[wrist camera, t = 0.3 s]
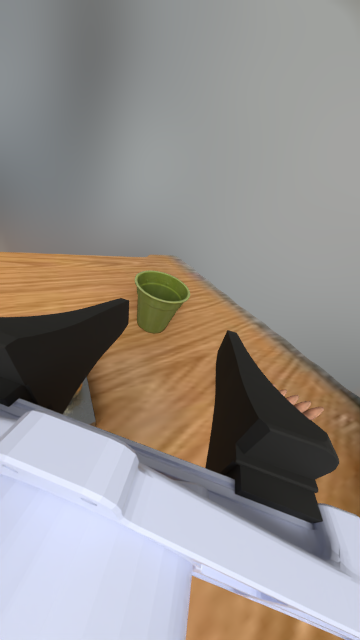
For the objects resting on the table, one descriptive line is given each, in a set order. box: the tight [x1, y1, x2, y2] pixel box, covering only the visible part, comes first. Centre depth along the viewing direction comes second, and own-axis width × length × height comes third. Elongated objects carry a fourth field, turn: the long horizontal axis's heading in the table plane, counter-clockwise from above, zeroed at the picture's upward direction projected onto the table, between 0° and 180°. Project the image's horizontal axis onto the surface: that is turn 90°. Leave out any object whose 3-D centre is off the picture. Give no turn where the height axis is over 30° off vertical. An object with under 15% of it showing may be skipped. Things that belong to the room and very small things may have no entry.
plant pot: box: [135, 271, 190, 333], centre depth 38 cm, size 12×12×11 cm
